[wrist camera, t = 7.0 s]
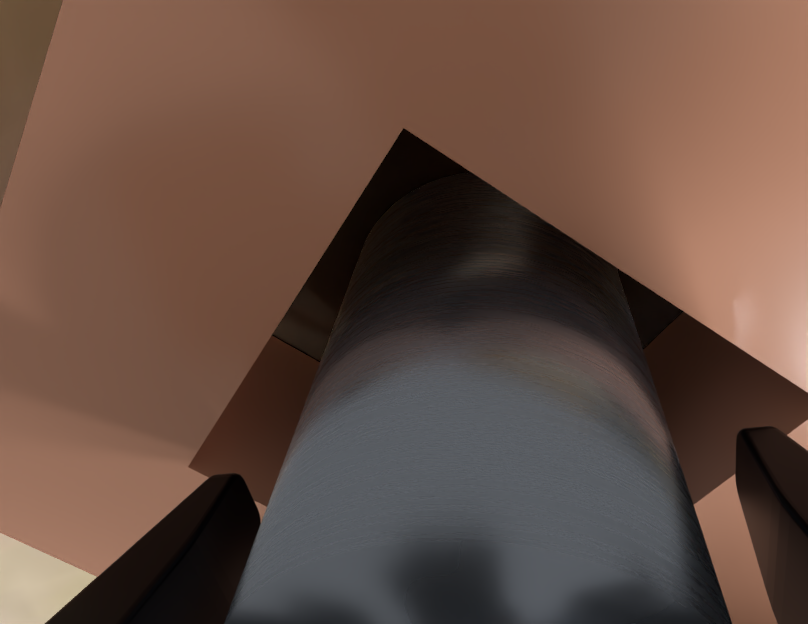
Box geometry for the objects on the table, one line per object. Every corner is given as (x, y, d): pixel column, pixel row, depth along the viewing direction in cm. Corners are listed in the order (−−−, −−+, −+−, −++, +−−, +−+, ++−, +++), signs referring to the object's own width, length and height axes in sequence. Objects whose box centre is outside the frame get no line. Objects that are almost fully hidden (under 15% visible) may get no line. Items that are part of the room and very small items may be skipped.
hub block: (544, 616, 18) (555, 784, 15) (42, 360, 15) (-86, 493, 12) (1083, 213, 11) (1342, 355, 8) (342, -391, 8) (238, -586, 5)
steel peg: (624, 383, 14) (749, 851, 7) (388, 408, 15) (300, 837, 8) (607, 147, 11) (770, 519, 5) (325, 196, 12) (125, 559, 6)
